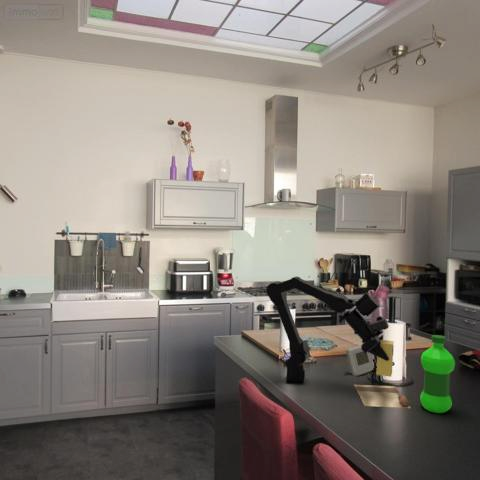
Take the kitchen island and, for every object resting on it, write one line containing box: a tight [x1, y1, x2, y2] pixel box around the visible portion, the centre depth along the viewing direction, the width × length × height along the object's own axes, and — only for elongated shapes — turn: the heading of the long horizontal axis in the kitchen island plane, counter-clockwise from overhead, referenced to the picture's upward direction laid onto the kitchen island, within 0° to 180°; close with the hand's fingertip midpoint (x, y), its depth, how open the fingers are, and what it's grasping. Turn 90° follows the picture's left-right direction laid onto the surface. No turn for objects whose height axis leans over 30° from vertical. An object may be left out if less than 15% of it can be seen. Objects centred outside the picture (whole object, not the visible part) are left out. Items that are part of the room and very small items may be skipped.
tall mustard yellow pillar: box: [375, 339, 395, 377], centre depth 177 cm, size 5×5×12 cm
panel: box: [353, 384, 411, 409], centre depth 175 cm, size 15×21×1 cm
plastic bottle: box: [419, 334, 456, 414], centre depth 163 cm, size 10×10×25 cm
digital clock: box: [346, 344, 375, 377], centre depth 204 cm, size 16×9×11 cm, turn 122°
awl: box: [397, 391, 410, 407], centre depth 169 cm, size 2×10×2 cm, turn 177°
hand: (388, 358), depth 177 cm, fingers closed on tall mustard yellow pillar, 5 cm apart
